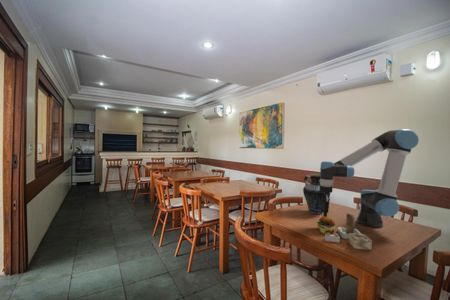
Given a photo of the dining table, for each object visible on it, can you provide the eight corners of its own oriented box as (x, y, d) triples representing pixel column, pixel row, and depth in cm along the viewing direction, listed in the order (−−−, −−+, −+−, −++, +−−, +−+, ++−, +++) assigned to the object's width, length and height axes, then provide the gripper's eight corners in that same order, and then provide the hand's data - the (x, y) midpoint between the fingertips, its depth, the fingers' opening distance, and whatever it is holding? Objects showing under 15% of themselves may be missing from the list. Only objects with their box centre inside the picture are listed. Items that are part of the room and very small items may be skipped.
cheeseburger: (313, 231, 134) (315, 214, 135) (320, 230, 141) (321, 215, 142) (330, 236, 126) (332, 218, 128) (336, 235, 134) (338, 219, 135)
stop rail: (338, 241, 121) (338, 233, 121) (339, 242, 119) (339, 235, 119) (325, 239, 122) (325, 232, 122) (325, 240, 120) (326, 233, 120)
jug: (333, 213, 170) (335, 175, 170) (323, 218, 157) (324, 177, 156) (308, 207, 186) (309, 172, 185) (296, 211, 172) (297, 173, 171)
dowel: (352, 233, 130) (353, 213, 130) (354, 236, 126) (355, 215, 126) (344, 232, 131) (345, 213, 130) (347, 235, 127) (347, 215, 127)
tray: (356, 233, 132) (356, 229, 132) (363, 240, 122) (363, 236, 122) (337, 231, 135) (337, 227, 135) (342, 238, 125) (342, 233, 124)
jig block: (365, 243, 119) (365, 234, 118) (371, 250, 111) (371, 241, 111) (349, 241, 120) (349, 232, 120) (353, 248, 113) (354, 239, 112)
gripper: (318, 183, 147) (316, 218, 148) (321, 187, 134) (320, 224, 135) (330, 184, 145) (328, 219, 146) (334, 188, 132) (333, 226, 133)
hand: (324, 221), depth 140 cm, fingers closed
